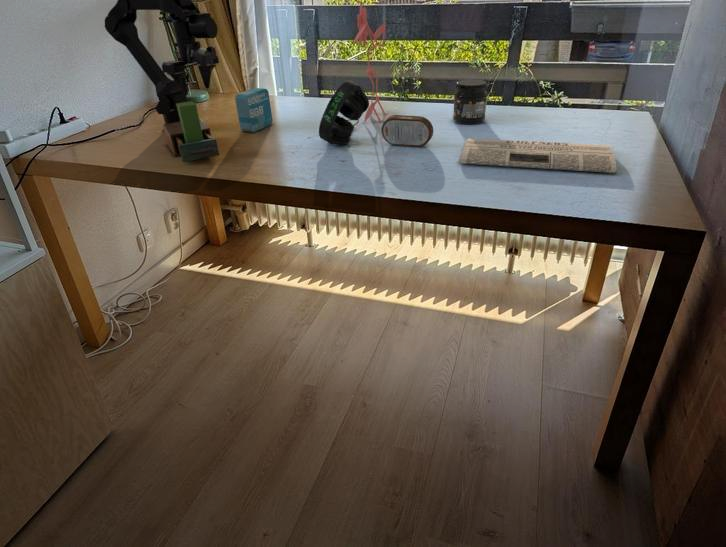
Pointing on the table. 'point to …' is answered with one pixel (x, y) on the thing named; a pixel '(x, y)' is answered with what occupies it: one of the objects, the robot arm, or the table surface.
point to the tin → (407, 130)
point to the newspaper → (539, 155)
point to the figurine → (361, 36)
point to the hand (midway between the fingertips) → (197, 91)
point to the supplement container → (470, 101)
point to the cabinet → (178, 134)
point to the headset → (343, 113)
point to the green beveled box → (190, 121)
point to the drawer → (197, 148)
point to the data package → (254, 109)
